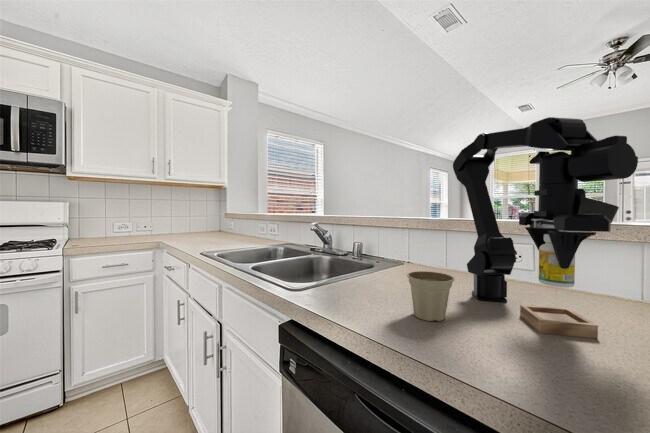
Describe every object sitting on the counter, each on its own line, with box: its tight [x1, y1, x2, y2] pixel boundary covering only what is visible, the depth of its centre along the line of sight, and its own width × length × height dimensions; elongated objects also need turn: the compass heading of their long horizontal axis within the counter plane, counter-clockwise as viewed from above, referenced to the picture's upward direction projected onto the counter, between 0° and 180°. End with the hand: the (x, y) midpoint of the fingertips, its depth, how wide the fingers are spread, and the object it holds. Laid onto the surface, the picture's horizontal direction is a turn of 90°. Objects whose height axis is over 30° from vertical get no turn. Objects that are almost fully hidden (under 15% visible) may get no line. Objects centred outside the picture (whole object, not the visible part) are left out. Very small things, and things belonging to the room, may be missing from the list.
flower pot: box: [406, 270, 456, 322], centre depth 58 cm, size 9×9×9 cm
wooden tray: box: [519, 304, 599, 339], centre depth 53 cm, size 9×9×2 cm
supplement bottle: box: [538, 234, 576, 289], centre depth 53 cm, size 5×5×10 cm
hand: (555, 265), depth 53 cm, fingers closed on supplement bottle, 5 cm apart
